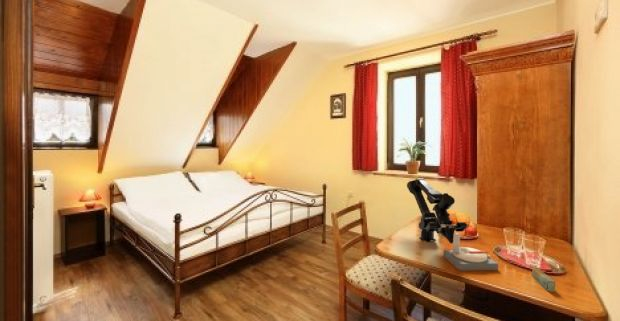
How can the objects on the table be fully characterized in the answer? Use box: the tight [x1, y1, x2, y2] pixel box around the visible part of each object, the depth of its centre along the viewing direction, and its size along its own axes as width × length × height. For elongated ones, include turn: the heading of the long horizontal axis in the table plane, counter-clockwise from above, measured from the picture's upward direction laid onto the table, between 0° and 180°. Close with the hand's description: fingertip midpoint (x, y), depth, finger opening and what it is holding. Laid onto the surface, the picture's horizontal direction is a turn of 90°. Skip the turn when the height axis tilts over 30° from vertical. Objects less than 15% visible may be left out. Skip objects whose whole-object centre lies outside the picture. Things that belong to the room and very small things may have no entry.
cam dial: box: [452, 232, 489, 263], centre depth 131 cm, size 16×14×11 cm
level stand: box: [443, 249, 499, 271], centre depth 131 cm, size 17×15×4 cm
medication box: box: [531, 267, 557, 293], centre depth 112 cm, size 12×3×4 cm, turn 165°
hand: (451, 243), depth 136 cm, fingers closed
